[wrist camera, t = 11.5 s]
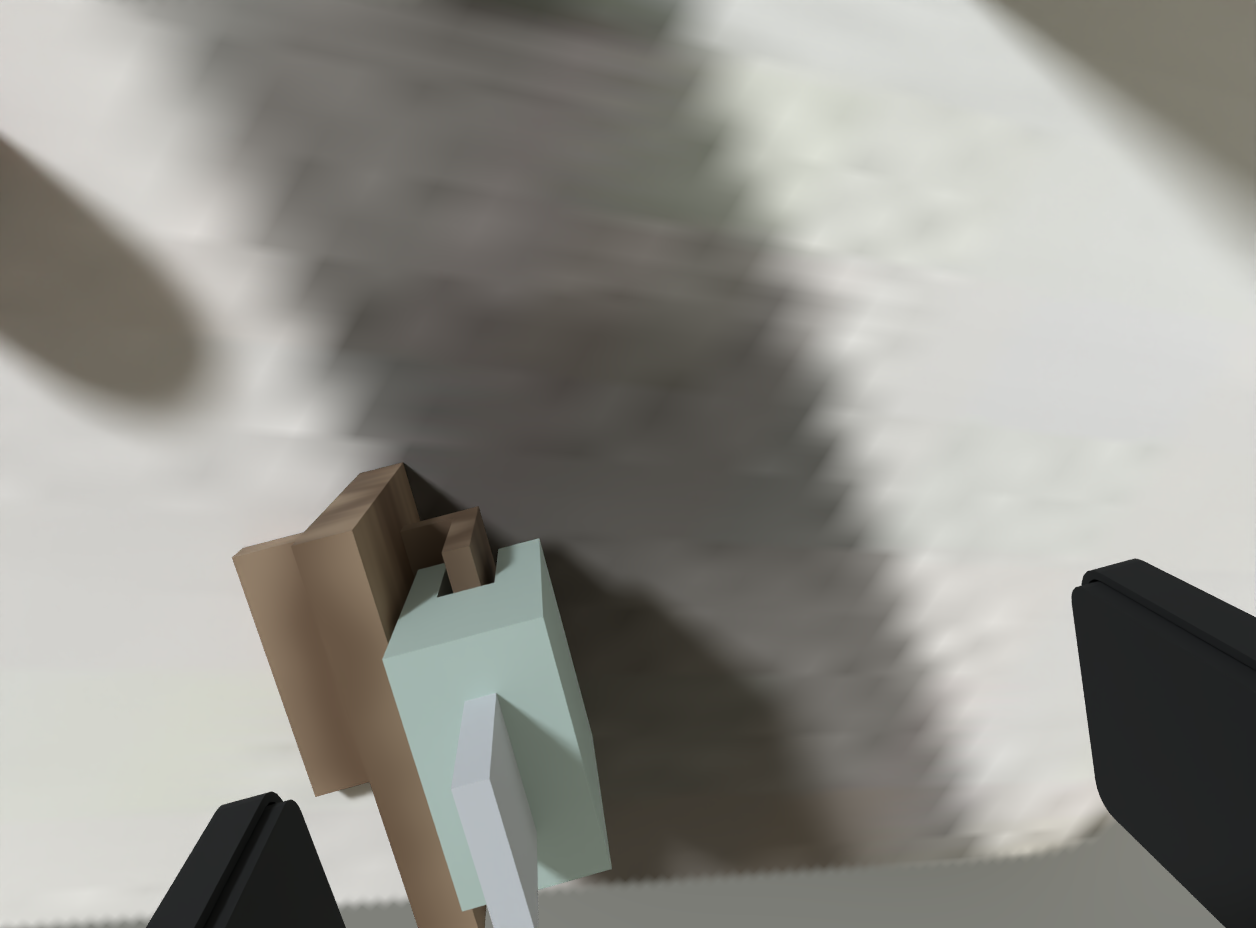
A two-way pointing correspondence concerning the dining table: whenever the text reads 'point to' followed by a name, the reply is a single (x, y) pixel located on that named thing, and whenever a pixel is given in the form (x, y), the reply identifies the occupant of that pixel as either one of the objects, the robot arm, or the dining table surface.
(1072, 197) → the dining table surface
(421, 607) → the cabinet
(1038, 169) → the dining table surface
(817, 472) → the dining table surface
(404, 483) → the brown boxy piece
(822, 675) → the dining table surface
